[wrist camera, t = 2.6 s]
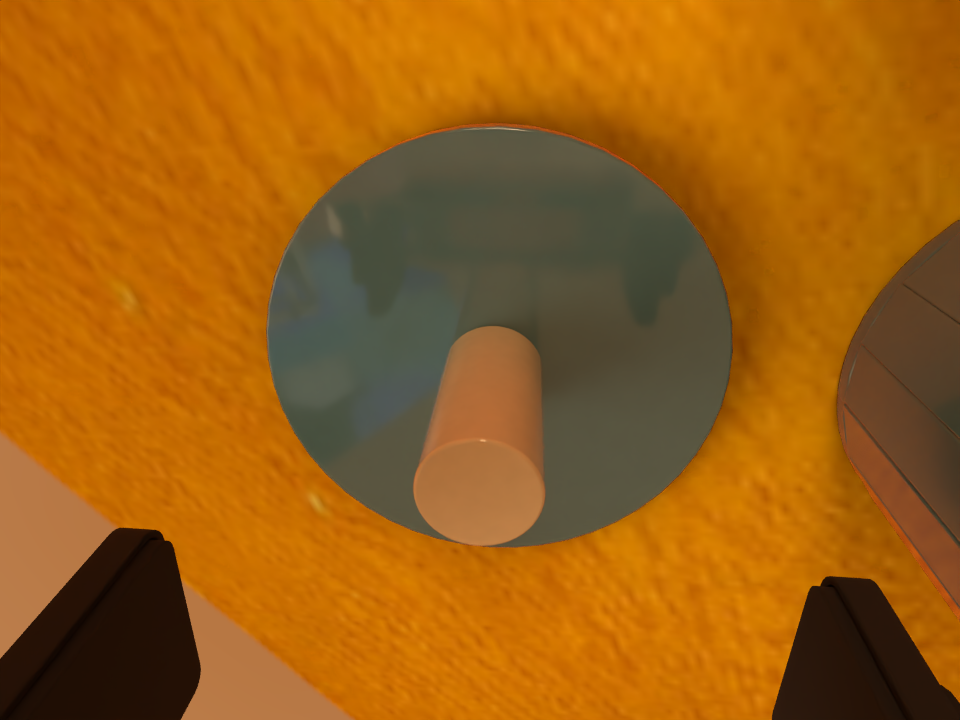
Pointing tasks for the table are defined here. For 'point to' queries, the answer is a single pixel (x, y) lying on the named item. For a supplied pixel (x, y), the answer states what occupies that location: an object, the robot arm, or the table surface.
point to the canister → (911, 408)
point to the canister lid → (499, 335)
